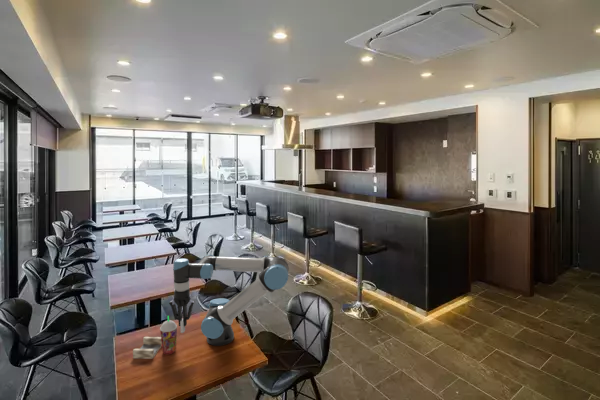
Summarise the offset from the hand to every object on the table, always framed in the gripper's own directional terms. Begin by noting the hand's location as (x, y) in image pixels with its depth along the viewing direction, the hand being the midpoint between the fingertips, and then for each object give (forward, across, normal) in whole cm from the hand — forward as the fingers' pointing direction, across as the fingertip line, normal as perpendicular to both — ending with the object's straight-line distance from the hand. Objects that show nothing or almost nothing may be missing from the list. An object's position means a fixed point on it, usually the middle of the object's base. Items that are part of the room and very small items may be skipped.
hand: (182, 331), depth 176 cm
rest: (+12, +18, 0) cm, 22 cm away
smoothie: (+12, +8, 0) cm, 14 cm away
